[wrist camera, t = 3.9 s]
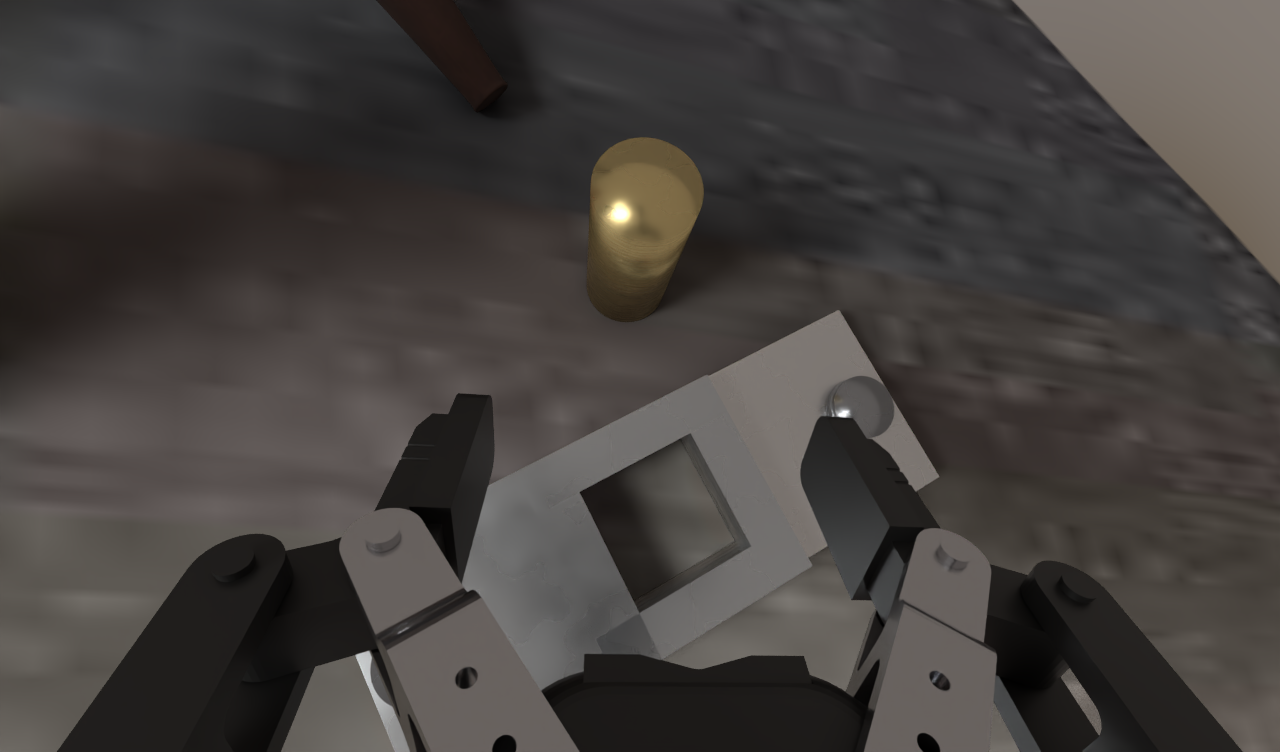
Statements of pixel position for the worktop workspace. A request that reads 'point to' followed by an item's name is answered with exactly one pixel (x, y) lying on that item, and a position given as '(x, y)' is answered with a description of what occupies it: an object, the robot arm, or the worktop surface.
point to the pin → (639, 224)
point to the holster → (450, 47)
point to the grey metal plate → (735, 477)
